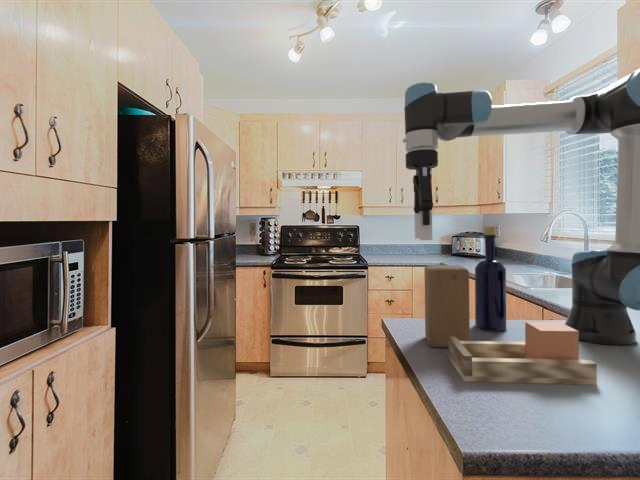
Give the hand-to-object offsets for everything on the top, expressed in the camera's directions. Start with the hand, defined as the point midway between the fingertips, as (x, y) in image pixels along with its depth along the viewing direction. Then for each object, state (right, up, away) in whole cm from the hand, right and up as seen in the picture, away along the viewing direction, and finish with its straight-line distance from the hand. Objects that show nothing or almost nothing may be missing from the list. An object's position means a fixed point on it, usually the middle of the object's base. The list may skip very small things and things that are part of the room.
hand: (423, 239), depth 89 cm
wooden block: (+8, -27, +7) cm, 29 cm away
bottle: (+26, -26, +20) cm, 42 cm away
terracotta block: (+23, -26, -13) cm, 37 cm away
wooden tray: (+16, -27, -12) cm, 34 cm away
